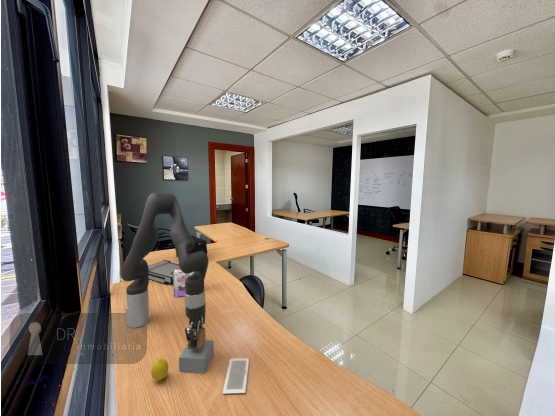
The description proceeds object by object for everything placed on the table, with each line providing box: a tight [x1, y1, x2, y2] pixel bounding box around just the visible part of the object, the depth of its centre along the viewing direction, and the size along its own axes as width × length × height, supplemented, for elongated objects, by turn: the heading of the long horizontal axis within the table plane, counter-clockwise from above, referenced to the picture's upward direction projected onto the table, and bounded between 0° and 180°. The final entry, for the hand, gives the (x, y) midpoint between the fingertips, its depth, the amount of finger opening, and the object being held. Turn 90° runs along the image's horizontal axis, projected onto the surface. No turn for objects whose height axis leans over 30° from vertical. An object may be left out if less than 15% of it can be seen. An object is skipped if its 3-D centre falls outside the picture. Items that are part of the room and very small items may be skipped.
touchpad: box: [222, 357, 250, 394], centre depth 83 cm, size 8×15×2 cm, turn 2°
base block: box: [178, 339, 215, 374], centre depth 89 cm, size 10×10×6 cm
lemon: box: [150, 358, 169, 381], centre depth 81 cm, size 6×6×8 cm
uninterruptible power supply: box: [174, 234, 208, 258], centre depth 206 cm, size 16×34×20 cm, turn 46°
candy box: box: [172, 270, 194, 299], centre depth 142 cm, size 14×6×16 cm, turn 105°
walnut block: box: [187, 326, 207, 350], centre depth 88 cm, size 5×5×6 cm
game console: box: [148, 259, 180, 286], centre depth 168 cm, size 21×32×8 cm, turn 65°
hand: (196, 341), depth 89 cm, fingers closed on walnut block, 5 cm apart
